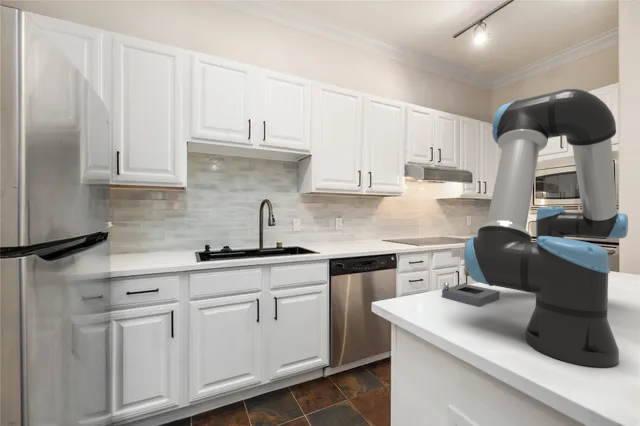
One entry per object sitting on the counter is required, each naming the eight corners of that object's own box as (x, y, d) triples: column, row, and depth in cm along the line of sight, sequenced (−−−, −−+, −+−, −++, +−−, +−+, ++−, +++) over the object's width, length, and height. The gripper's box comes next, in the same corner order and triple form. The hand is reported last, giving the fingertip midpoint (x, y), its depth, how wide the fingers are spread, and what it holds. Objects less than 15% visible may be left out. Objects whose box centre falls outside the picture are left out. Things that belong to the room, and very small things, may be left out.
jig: (479, 306, 90) (479, 291, 90) (441, 296, 100) (441, 283, 100) (499, 298, 98) (499, 285, 98) (462, 290, 108) (462, 277, 108)
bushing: (475, 277, 96) (475, 239, 96) (461, 274, 99) (462, 238, 99) (481, 275, 99) (482, 239, 98) (468, 272, 102) (468, 237, 102)
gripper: (544, 269, 92) (471, 271, 90) (504, 259, 109) (442, 260, 107) (544, 245, 92) (472, 246, 90) (504, 239, 109) (443, 239, 107)
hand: (456, 254), depth 98 cm, fingers closed on bushing, 4 cm apart
